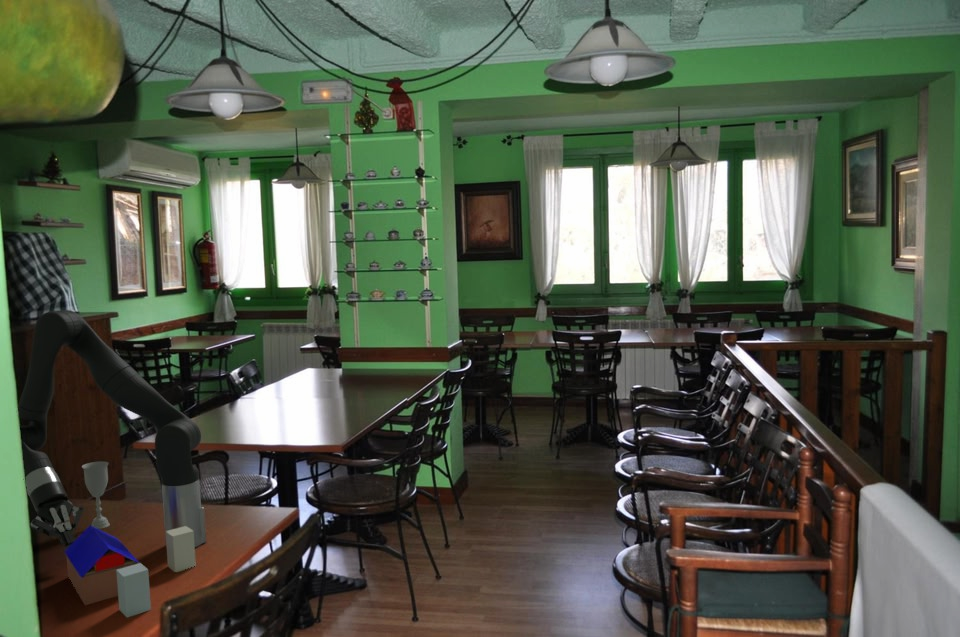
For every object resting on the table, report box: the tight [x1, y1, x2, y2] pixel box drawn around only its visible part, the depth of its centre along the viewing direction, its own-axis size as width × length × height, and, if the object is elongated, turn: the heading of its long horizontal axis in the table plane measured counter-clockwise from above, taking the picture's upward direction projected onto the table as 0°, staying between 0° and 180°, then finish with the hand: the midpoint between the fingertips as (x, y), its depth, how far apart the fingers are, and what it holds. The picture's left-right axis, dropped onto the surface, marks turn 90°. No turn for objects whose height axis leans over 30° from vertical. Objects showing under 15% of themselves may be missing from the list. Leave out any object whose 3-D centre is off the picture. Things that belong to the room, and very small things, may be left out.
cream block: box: [165, 526, 197, 573], centre depth 185 cm, size 5×5×9 cm
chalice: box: [81, 461, 111, 530], centre depth 215 cm, size 7×7×18 cm
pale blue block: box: [116, 562, 152, 618], centre depth 162 cm, size 5×5×9 cm
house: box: [64, 524, 140, 606], centre depth 176 cm, size 12×20×12 cm, turn 38°
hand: (70, 546), depth 186 cm, fingers closed
